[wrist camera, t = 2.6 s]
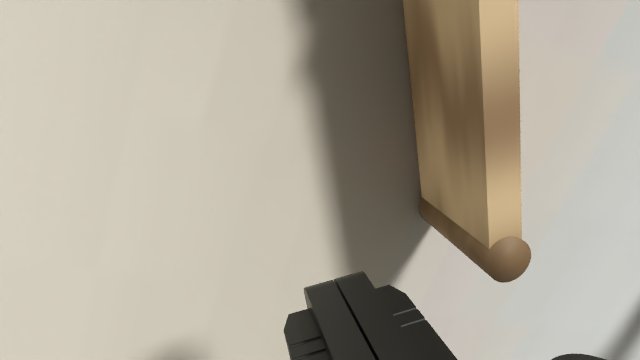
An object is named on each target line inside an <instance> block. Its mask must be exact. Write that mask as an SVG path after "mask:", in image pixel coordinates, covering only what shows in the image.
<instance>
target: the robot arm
mask: <svg viewBox="0 0 640 360" xmlns="http://www.w3.org/2000/svg"><path fill="white" fill-rule="evenodd" d="M304 294H305V299H306V303H307V308H308V309H306V310H302V311H299V312H295V313H292V314H289V315H288V318H287V321H286V325H285V328H284V334H285V338H286V342H287V346H288V351H289V355H290V359H291V360H457V359H456V357H455V356H454V355H453V353H452V352H451V351H450V350H449V348H448V347H447V346H446V344H445V343H444V342H443V341H442V339H441V338H440V337H439V336H438V334H437V333H436V332H435V330H434V329H433V328H432V327H431V325H430V324H429V323H428V322H427V320H425V319H424V316H423V315H422V314H421V313H420V311H419V310H418V309H416V306H415V305H414V304H413V302H412V301H411V300H410V299H409V297H408V296H407V295H406V294H405V293H403V292H402V291H400V290H398V289H396V288H394V287H392V286H390V285H387V286H383V287H380V288H377V289H375V288H374V286H373V285H372V283H371V282H370V280H369V279H368V277H367V276H366V274H365V273H364V272H363V271H361V272H358V273H354V274H351V275H347V276H344V277H340V278H337V279H334V281H333V280H330V281H327V282H323V283H320V284H316V285H313V286H309V287H306V288H304ZM552 360H605V359H602V358H598V357H595V356H590V355H584V354H565V355H561V356H558V357H555V358H553V359H552Z"/></svg>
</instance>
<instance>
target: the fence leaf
mask: <svg viewBox="0 0 640 360" xmlns="http://www.w3.org/2000/svg"><path fill="white" fill-rule="evenodd" d="M403 8H404V19H405V29H406V39H407V50H408V60H409V70H410V80H411V91H412V101H413V111H414V122H415V132H416V142H417V152H418V163H419V173H420V183H421V194H422V198H421V199H420V202H419V213H420V215H421V217H422V218H423V219H424V220H426V221H427V222H428V223H429V224H430V225H431V226H433V227H434V228H435V229H436V230H437V231H438V232H440V233H441V234H442V235H443V236H444V237H445V238H447V239H448V240H449V241H450V242H451V243H452V244H453V245H455V246H456V247H457V248H458V249H459V250H460V251H462V252H463V253H464V254H465V255H466V256H467V257H469V258H470V259H471V260H472V261H473V262H474V263H476V264H477V265H478V266H479V267H480V268H481V269H482V270H484V271H485V272H486V273H487V274H488V275H489V276H491V277H492V278H493V279H494V280H496V281H498V282H510V281H512V280H515V279H516V278H518V277H519V276H521V275H522V274H523V273H524V271H525V270H526V269H527V267H528V265H529V263H530V259H531V251H530V248H529V246H528V244H527V243H526V242H525V241H523V240H522V231H521V159H520V87H519V15H518V0H403Z"/></svg>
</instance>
